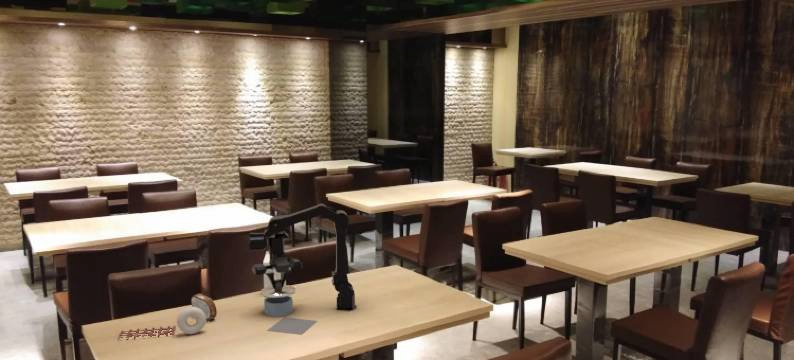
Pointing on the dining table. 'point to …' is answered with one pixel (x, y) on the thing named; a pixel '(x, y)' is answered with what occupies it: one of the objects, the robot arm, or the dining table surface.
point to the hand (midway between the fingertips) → (278, 287)
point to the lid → (278, 290)
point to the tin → (204, 305)
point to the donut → (188, 313)
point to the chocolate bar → (148, 332)
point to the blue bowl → (278, 306)
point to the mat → (292, 325)
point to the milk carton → (276, 274)
